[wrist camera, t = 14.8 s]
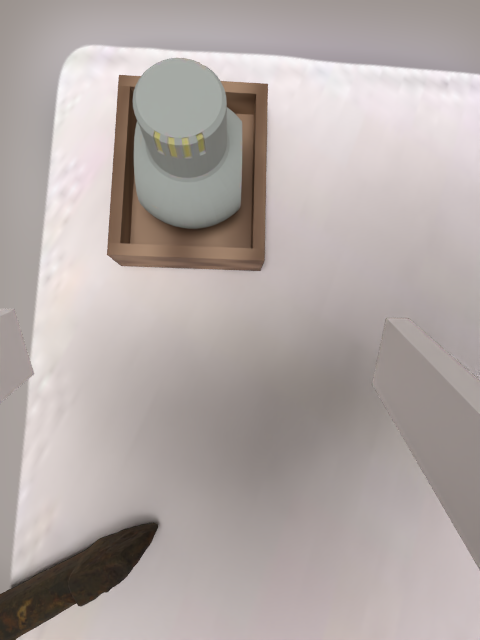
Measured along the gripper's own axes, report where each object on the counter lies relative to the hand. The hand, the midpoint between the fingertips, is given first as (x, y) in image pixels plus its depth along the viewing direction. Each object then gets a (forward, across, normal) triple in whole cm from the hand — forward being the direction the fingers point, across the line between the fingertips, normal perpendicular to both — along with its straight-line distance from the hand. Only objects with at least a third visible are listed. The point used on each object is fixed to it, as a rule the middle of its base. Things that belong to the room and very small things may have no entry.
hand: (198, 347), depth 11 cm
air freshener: (+22, -4, +5) cm, 23 cm away
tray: (+23, -4, +5) cm, 24 cm away
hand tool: (+6, -14, -25) cm, 30 cm away
